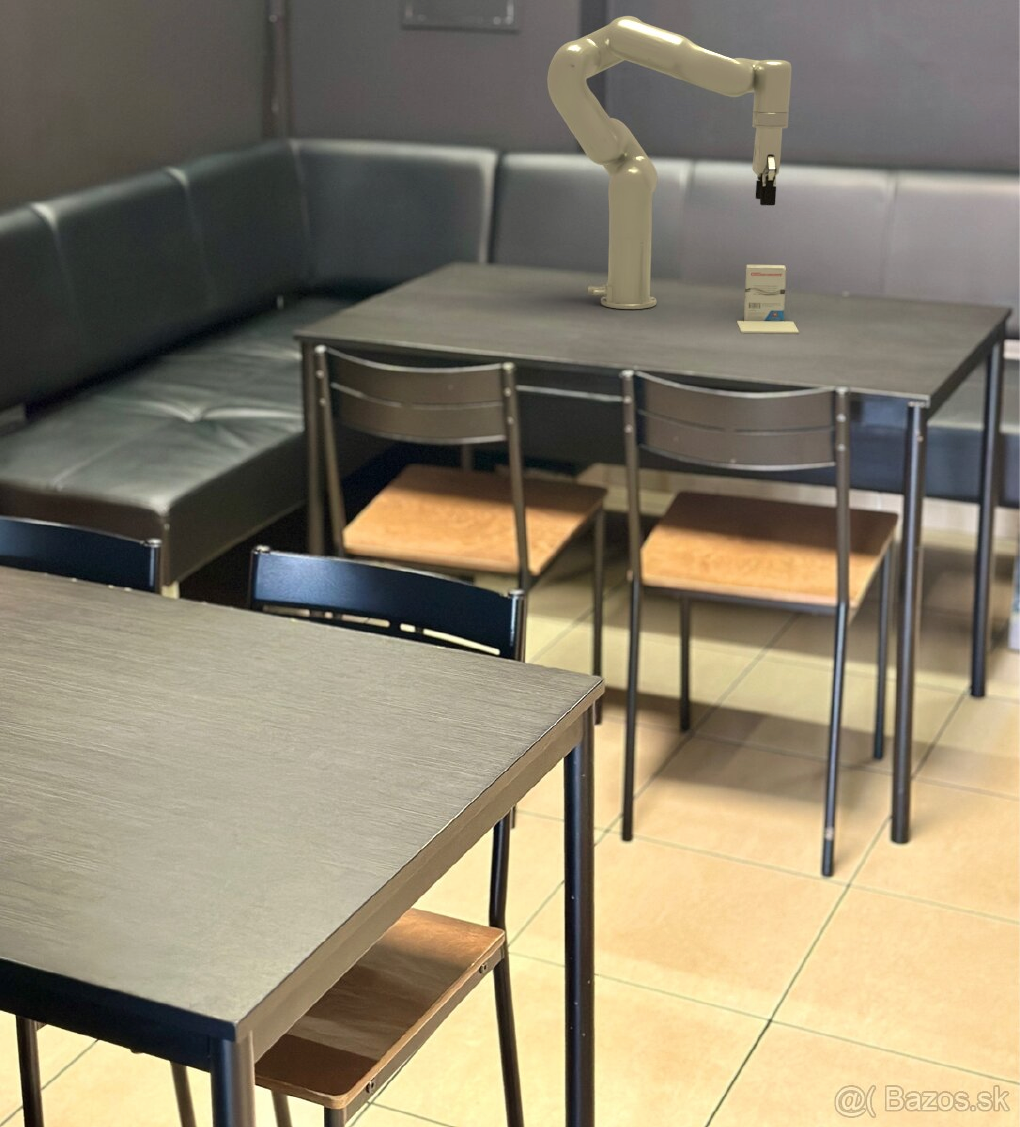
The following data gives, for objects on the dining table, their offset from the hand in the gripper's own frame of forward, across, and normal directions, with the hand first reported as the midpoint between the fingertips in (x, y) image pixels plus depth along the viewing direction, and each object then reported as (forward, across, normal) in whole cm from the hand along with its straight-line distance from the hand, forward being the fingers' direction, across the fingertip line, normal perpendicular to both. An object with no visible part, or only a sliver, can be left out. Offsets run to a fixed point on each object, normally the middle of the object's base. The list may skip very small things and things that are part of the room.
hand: (765, 201), depth 348 cm
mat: (+24, +19, 0) cm, 30 cm away
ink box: (+24, +10, 0) cm, 26 cm away
